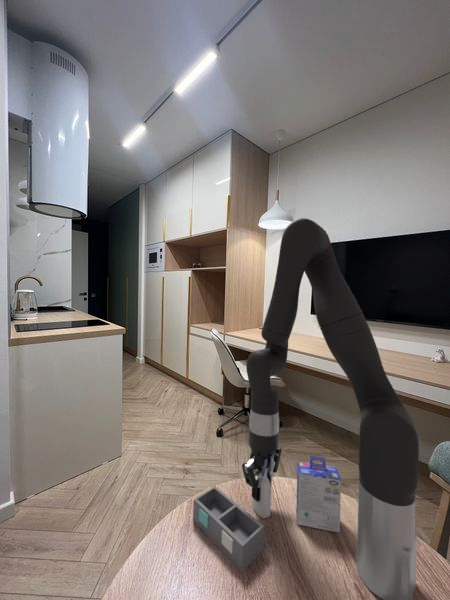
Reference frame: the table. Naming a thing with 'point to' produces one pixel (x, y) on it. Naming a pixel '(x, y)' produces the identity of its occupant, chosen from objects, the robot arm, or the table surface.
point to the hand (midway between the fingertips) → (261, 494)
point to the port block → (229, 527)
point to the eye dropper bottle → (263, 498)
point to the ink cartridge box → (318, 495)
